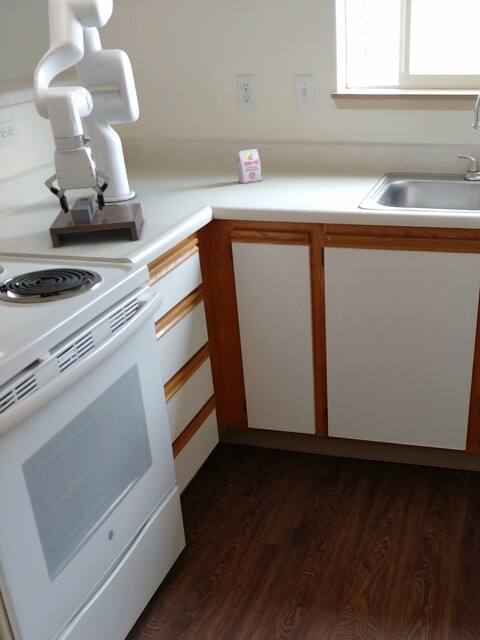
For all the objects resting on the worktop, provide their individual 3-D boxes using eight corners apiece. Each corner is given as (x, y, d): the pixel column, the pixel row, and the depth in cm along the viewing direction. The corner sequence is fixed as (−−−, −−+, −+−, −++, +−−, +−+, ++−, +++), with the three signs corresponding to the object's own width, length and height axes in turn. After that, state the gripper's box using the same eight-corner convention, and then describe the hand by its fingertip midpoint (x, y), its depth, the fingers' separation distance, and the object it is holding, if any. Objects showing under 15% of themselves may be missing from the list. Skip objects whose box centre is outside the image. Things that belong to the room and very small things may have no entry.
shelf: (65, 227, 215) (61, 209, 213) (143, 220, 217) (140, 202, 215) (53, 247, 198) (48, 228, 196) (138, 240, 200) (134, 221, 198)
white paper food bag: (239, 181, 255) (235, 150, 250) (257, 178, 257) (254, 147, 252) (242, 183, 252) (239, 152, 247) (261, 180, 254) (258, 149, 249)
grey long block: (80, 210, 211) (77, 197, 209) (97, 209, 211) (94, 195, 209) (73, 223, 199) (70, 209, 197) (90, 222, 199) (87, 208, 197)
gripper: (105, 138, 199) (118, 204, 208) (38, 143, 198) (53, 210, 207) (102, 142, 193) (115, 211, 202) (32, 148, 191) (49, 216, 200)
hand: (84, 210), depth 204 cm, fingers open, 8 cm apart
